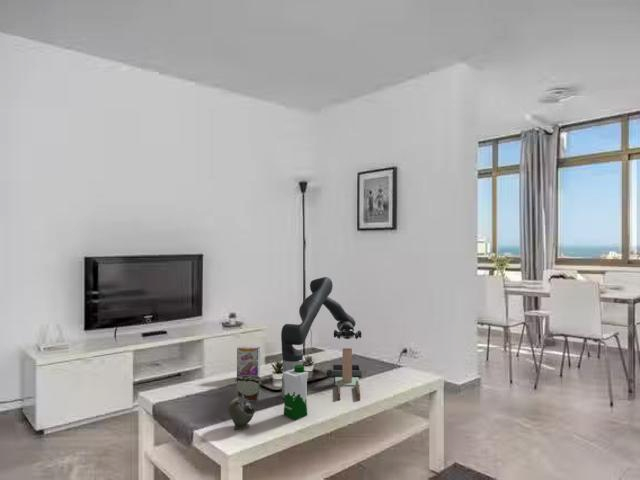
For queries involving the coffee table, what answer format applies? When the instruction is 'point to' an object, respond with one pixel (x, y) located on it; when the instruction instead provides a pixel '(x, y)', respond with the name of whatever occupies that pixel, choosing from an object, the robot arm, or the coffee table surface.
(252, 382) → the food container
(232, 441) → the coffee table surface
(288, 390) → the milk carton
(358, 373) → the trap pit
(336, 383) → the pad
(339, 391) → the walled channel
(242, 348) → the candy bar box
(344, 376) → the terracotta post
